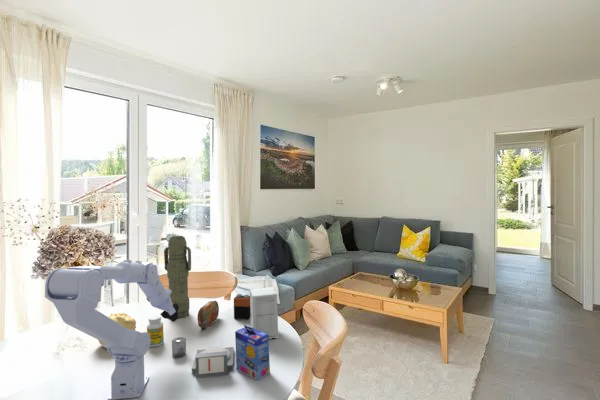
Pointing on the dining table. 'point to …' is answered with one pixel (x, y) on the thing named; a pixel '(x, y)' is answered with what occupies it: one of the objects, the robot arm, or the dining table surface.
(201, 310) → the tin
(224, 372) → the scale
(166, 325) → the dining table surface
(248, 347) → the ink cartridge box
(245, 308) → the battery
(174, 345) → the silver metal cylinder
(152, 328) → the supplement bottle
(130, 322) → the sculpture
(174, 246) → the thermos
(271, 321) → the white tall box
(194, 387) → the dining table surface
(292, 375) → the dining table surface
